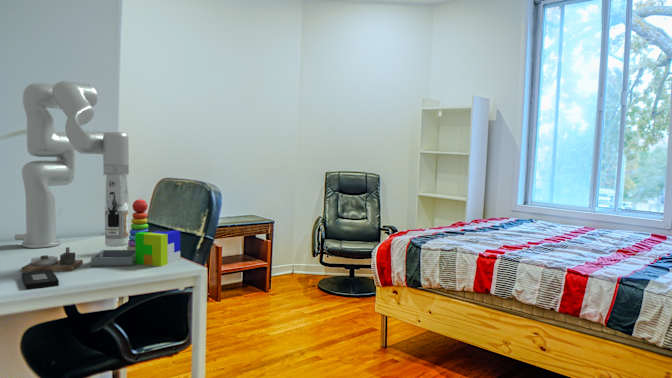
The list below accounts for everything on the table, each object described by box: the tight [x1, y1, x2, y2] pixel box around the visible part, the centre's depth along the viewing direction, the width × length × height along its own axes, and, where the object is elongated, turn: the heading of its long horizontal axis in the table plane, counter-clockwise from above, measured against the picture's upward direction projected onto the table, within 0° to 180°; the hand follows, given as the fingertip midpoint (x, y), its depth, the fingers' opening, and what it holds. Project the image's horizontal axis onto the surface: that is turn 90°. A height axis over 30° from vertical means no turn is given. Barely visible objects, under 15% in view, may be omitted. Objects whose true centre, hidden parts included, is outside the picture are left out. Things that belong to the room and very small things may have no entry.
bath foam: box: [104, 202, 129, 248], centre depth 164 cm, size 7×7×20 cm
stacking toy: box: [126, 198, 150, 250], centre depth 184 cm, size 8×8×19 cm
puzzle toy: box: [135, 228, 181, 267], centre depth 167 cm, size 10×10×10 cm
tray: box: [90, 249, 136, 268], centre depth 165 cm, size 12×12×3 cm
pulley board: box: [20, 246, 84, 273], centre depth 156 cm, size 14×10×6 cm
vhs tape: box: [21, 269, 60, 291], centre depth 140 cm, size 8×14×2 cm, turn 36°
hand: (116, 224), depth 164 cm, fingers closed on bath foam, 7 cm apart
